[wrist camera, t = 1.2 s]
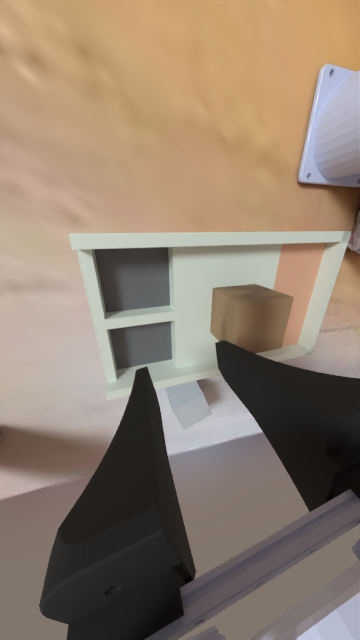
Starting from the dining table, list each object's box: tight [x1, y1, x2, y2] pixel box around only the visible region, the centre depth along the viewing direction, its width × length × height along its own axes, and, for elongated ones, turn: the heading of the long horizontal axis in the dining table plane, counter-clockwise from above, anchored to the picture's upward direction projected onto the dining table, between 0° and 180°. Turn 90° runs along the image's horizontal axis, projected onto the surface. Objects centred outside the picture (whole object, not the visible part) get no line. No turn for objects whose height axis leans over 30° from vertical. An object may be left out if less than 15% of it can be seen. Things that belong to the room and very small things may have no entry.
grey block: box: [165, 381, 212, 429], centre depth 24 cm, size 4×4×4 cm
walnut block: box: [210, 284, 294, 353], centre depth 18 cm, size 5×5×5 cm
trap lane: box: [68, 231, 352, 400], centre depth 20 cm, size 26×15×4 cm, turn 92°
